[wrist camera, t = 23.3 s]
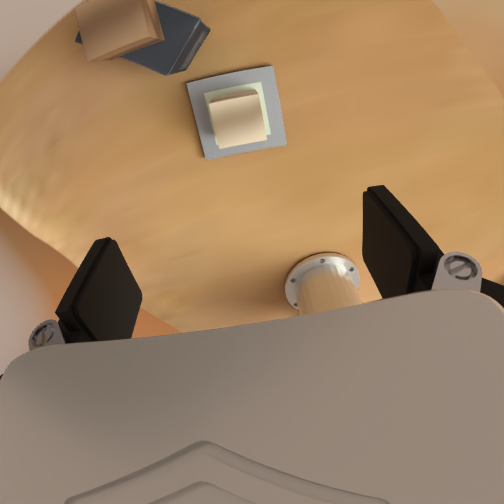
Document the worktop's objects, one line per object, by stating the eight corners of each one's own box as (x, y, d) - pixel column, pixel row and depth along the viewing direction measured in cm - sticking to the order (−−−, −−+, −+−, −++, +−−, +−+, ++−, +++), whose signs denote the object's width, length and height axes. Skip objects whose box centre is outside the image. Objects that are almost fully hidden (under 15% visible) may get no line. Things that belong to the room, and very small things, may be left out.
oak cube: (263, 129, 34) (267, 139, 30) (221, 137, 35) (219, 149, 31) (255, 89, 32) (258, 93, 28) (212, 98, 32) (208, 103, 28)
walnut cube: (164, 40, 20) (148, 36, 16) (111, 59, 21) (87, 61, 17) (152, -8, 17) (135, -20, 13) (100, 13, 18) (74, 8, 14)
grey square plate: (285, 142, 37) (287, 145, 36) (206, 158, 37) (206, 160, 36) (272, 65, 31) (273, 65, 30) (187, 82, 32) (186, 83, 31)
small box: (111, 44, 28) (70, 43, 19) (135, -2, 24) (101, -18, 16) (185, 74, 31) (165, 79, 22) (212, 28, 28) (203, 15, 19)
